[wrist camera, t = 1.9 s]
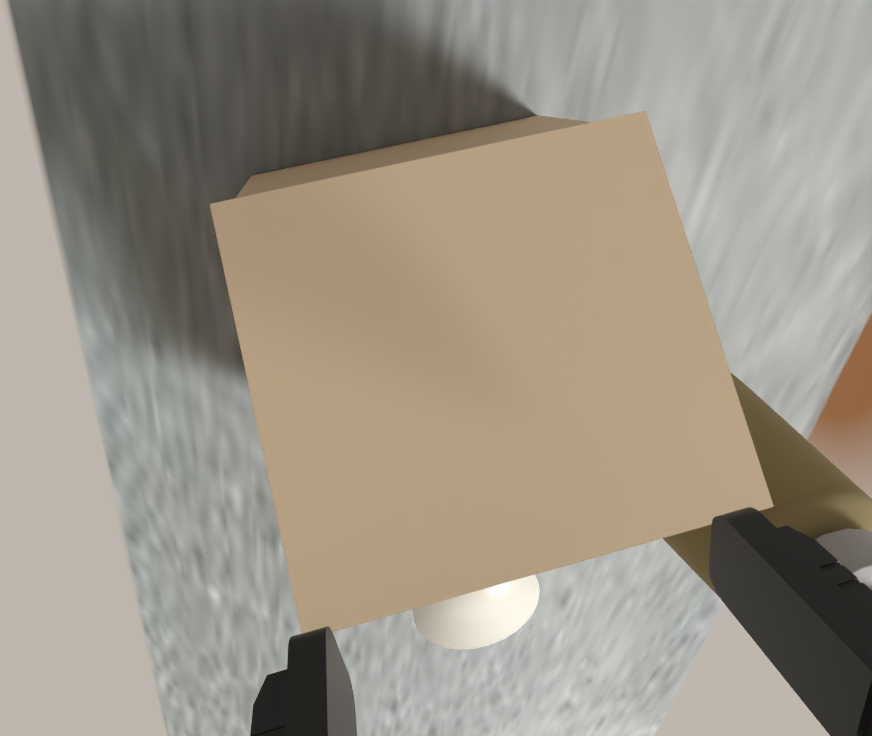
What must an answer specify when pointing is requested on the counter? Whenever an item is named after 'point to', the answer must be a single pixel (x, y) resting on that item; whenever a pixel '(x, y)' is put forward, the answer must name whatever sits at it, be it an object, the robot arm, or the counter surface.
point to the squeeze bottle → (796, 495)
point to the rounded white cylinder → (479, 615)
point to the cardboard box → (402, 153)
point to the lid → (480, 368)
